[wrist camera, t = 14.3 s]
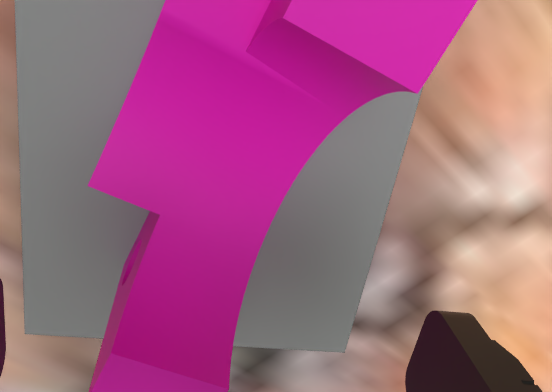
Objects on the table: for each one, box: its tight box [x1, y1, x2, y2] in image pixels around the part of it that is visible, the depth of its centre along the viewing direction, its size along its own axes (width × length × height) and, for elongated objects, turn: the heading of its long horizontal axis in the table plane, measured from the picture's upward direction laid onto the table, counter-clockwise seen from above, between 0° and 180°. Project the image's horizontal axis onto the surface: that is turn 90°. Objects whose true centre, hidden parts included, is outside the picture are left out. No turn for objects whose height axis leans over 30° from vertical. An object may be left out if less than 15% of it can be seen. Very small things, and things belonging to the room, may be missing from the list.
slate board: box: [15, 0, 423, 353], centre depth 21 cm, size 15×21×1 cm
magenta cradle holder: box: [88, 0, 477, 392], centre depth 16 cm, size 15×6×8 cm, turn 152°
